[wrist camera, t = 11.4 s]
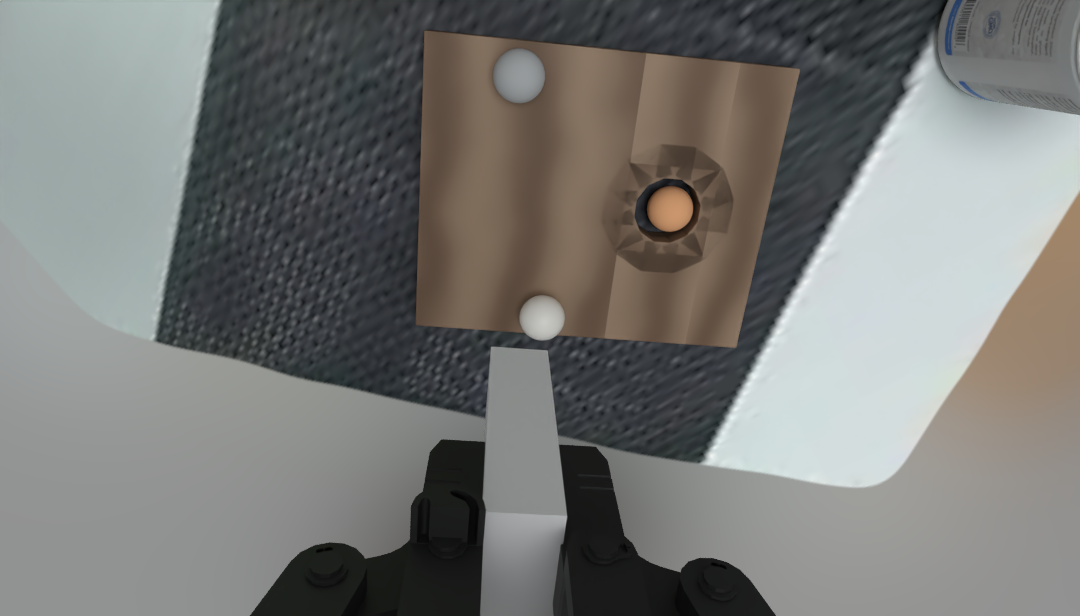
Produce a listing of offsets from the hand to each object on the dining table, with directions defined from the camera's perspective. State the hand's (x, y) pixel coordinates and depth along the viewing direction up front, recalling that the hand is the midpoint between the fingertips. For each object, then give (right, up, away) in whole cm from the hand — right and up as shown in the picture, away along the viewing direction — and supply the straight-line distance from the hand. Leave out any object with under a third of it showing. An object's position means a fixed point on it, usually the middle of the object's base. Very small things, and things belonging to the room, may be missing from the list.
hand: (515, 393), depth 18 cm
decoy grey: (-1, +17, +24) cm, 29 cm away
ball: (+10, +9, +30) cm, 33 cm away
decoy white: (+1, +2, +30) cm, 30 cm away
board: (+4, +10, +31) cm, 33 cm away
